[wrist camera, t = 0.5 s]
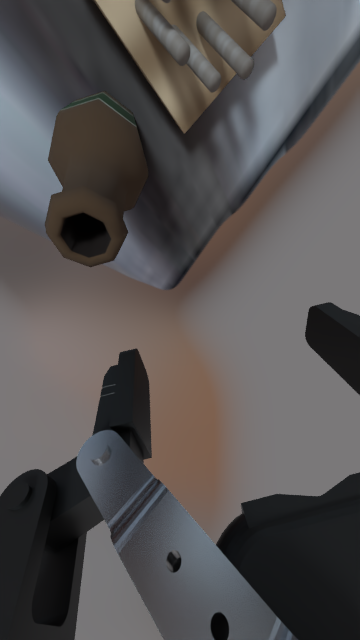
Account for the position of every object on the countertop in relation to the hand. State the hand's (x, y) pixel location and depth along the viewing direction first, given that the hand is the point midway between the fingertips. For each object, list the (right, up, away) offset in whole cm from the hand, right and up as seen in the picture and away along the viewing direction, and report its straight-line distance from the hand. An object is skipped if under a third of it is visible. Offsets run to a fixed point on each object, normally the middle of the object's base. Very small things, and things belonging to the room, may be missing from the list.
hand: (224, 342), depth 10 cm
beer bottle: (-11, +23, +16) cm, 30 cm away
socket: (-2, +30, +9) cm, 32 cm away
